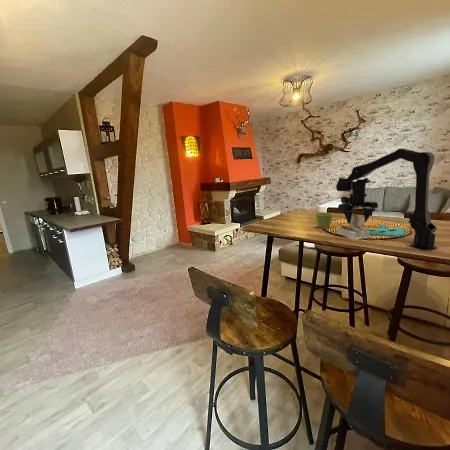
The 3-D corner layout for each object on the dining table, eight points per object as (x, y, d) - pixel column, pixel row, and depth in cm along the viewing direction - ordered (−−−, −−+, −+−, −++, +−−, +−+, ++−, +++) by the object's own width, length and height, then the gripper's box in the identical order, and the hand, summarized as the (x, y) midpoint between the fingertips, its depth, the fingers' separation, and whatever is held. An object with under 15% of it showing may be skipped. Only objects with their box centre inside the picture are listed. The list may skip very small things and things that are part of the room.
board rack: (370, 239, 125) (371, 231, 124) (353, 241, 123) (353, 233, 122) (351, 232, 138) (351, 225, 137) (335, 234, 136) (335, 227, 135)
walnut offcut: (350, 235, 129) (351, 227, 128) (348, 235, 129) (348, 228, 128) (343, 232, 135) (343, 225, 134) (340, 232, 134) (341, 225, 134)
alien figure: (352, 232, 140) (384, 241, 121) (353, 228, 139) (384, 237, 120) (382, 227, 145) (416, 236, 126) (382, 224, 144) (417, 232, 125)
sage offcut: (359, 237, 126) (360, 229, 125) (357, 237, 125) (357, 229, 124) (351, 234, 131) (351, 226, 130) (349, 234, 131) (349, 226, 130)
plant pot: (314, 226, 154) (314, 212, 152) (330, 226, 152) (331, 212, 151) (316, 230, 146) (316, 215, 144) (333, 230, 144) (334, 215, 142)
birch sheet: (363, 236, 126) (364, 216, 124) (361, 236, 126) (362, 216, 124) (351, 231, 135) (352, 213, 133) (349, 232, 135) (350, 213, 133)
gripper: (363, 189, 135) (361, 218, 139) (331, 192, 132) (330, 221, 135) (379, 191, 125) (377, 222, 128) (345, 194, 121) (344, 226, 125)
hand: (356, 222), depth 129 cm, fingers open, 9 cm apart
